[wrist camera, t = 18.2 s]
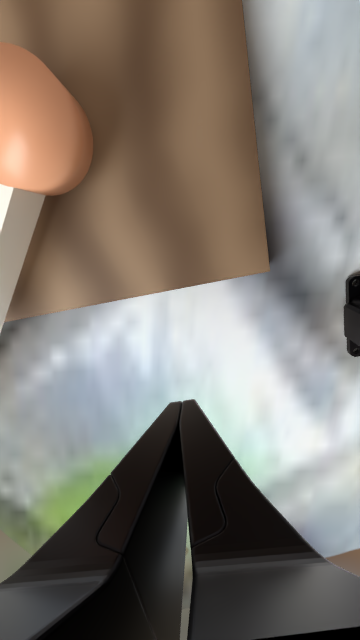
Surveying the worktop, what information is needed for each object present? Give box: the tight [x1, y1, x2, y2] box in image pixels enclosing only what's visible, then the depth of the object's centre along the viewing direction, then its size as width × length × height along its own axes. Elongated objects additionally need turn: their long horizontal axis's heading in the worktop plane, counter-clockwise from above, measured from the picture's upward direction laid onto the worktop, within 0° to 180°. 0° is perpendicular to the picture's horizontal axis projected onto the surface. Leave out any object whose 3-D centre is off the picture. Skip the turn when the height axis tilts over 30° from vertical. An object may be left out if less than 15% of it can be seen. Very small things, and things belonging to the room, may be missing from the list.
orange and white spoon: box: [0, 42, 93, 333], centre depth 15 cm, size 16×6×3 cm, turn 152°
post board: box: [0, 0, 270, 322], centre depth 17 cm, size 24×20×3 cm
